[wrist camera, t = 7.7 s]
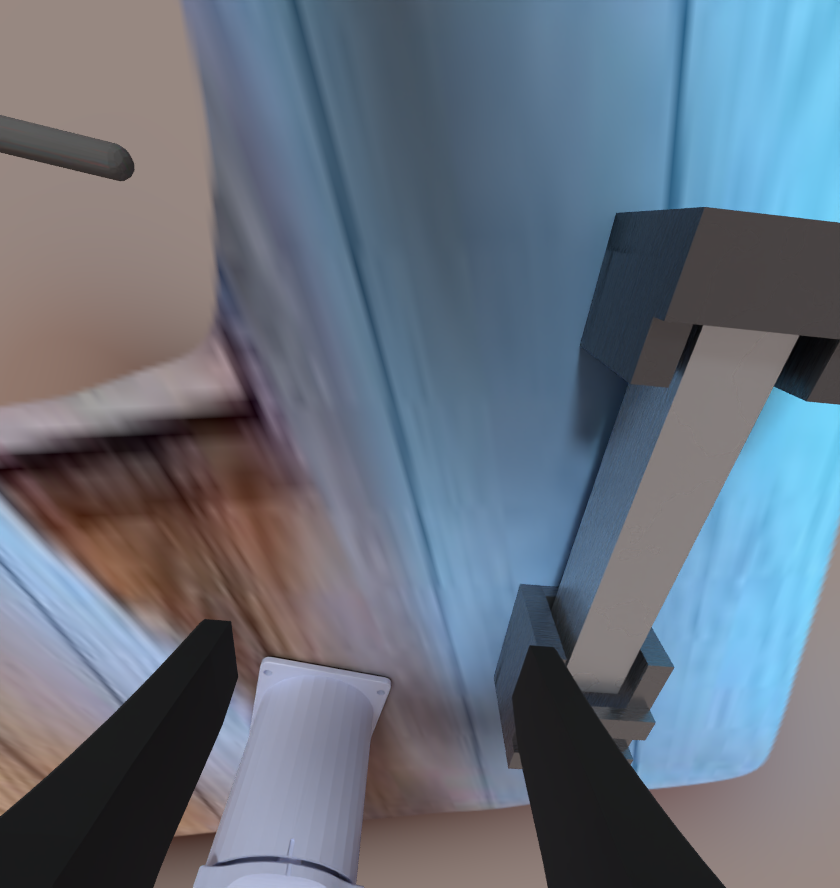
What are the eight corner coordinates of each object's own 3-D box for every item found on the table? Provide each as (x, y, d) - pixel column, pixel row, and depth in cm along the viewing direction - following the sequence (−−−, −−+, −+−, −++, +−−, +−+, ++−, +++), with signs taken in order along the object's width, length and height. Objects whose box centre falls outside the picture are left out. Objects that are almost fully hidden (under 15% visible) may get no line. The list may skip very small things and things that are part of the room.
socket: (743, 362, 17) (861, 412, 13) (580, 345, 17) (639, 391, 12) (802, 234, 15) (970, 237, 10) (616, 213, 15) (704, 206, 10)
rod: (595, 640, 23) (617, 693, 21) (542, 637, 23) (557, 689, 21) (744, 291, 15) (814, 304, 12) (662, 282, 15) (715, 294, 12)
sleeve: (590, 684, 27) (623, 775, 22) (493, 677, 27) (508, 768, 22) (631, 592, 23) (681, 679, 19) (520, 584, 23) (543, 670, 18)
